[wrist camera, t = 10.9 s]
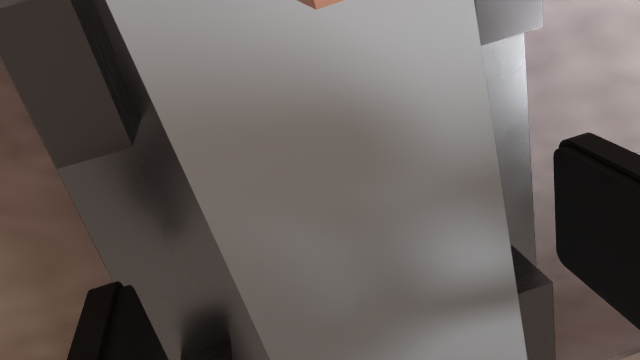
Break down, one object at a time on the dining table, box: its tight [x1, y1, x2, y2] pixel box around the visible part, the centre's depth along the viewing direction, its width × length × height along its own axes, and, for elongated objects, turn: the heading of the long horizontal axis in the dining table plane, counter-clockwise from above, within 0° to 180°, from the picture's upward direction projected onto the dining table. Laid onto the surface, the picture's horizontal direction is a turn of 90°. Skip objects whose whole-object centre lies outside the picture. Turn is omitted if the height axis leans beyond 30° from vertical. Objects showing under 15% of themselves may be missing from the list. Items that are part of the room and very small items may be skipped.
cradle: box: [0, 0, 555, 360], centre depth 14 cm, size 12×24×4 cm, turn 13°
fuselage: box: [106, 0, 527, 360], centre depth 10 cm, size 4×19×8 cm, turn 16°
